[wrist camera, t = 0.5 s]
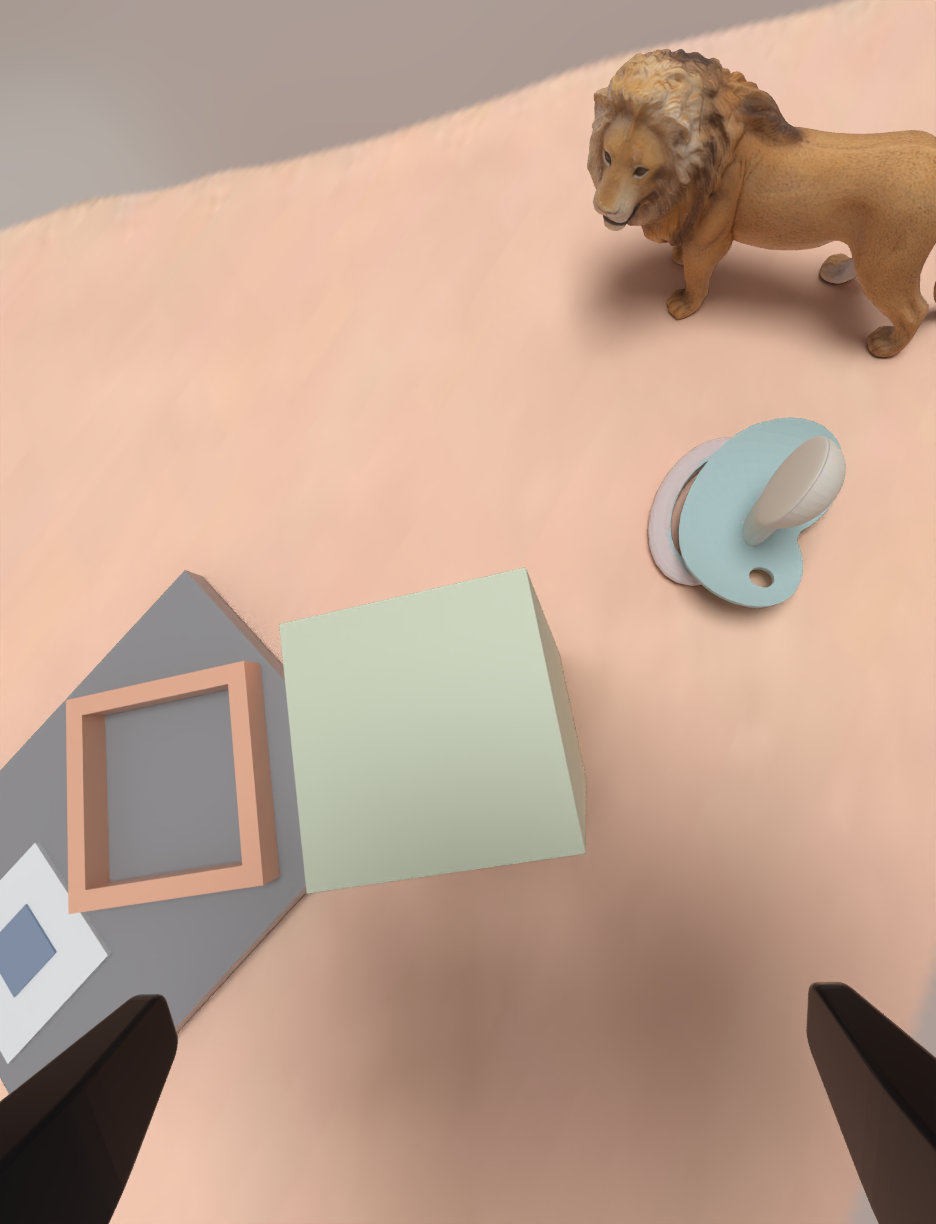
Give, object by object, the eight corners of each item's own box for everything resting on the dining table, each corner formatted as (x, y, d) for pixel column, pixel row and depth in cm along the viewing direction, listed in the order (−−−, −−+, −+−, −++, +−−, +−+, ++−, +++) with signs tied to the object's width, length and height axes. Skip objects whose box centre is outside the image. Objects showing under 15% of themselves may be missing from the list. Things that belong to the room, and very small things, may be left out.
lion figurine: (575, 338, 25) (570, 140, 17) (599, 235, 26) (605, -5, 17) (951, 368, 22) (1189, 137, 13) (966, 249, 23) (1201, -44, 14)
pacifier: (620, 575, 23) (770, 633, 21) (626, 522, 17) (834, 596, 15) (690, 421, 24) (841, 465, 22) (718, 319, 18) (929, 368, 16)
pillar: (586, 777, 22) (585, 854, 9) (462, 798, 23) (306, 893, 10) (558, 652, 23) (525, 567, 10) (441, 676, 24) (278, 624, 11)
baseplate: (75, 1143, 23) (40, 1171, 22) (-75, 877, 27) (-112, 886, 25) (398, 792, 23) (386, 796, 22) (202, 576, 27) (180, 568, 26)
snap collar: (280, 876, 22) (263, 885, 21) (94, 905, 24) (68, 914, 22) (260, 663, 24) (243, 660, 23) (89, 701, 26) (65, 700, 24)
